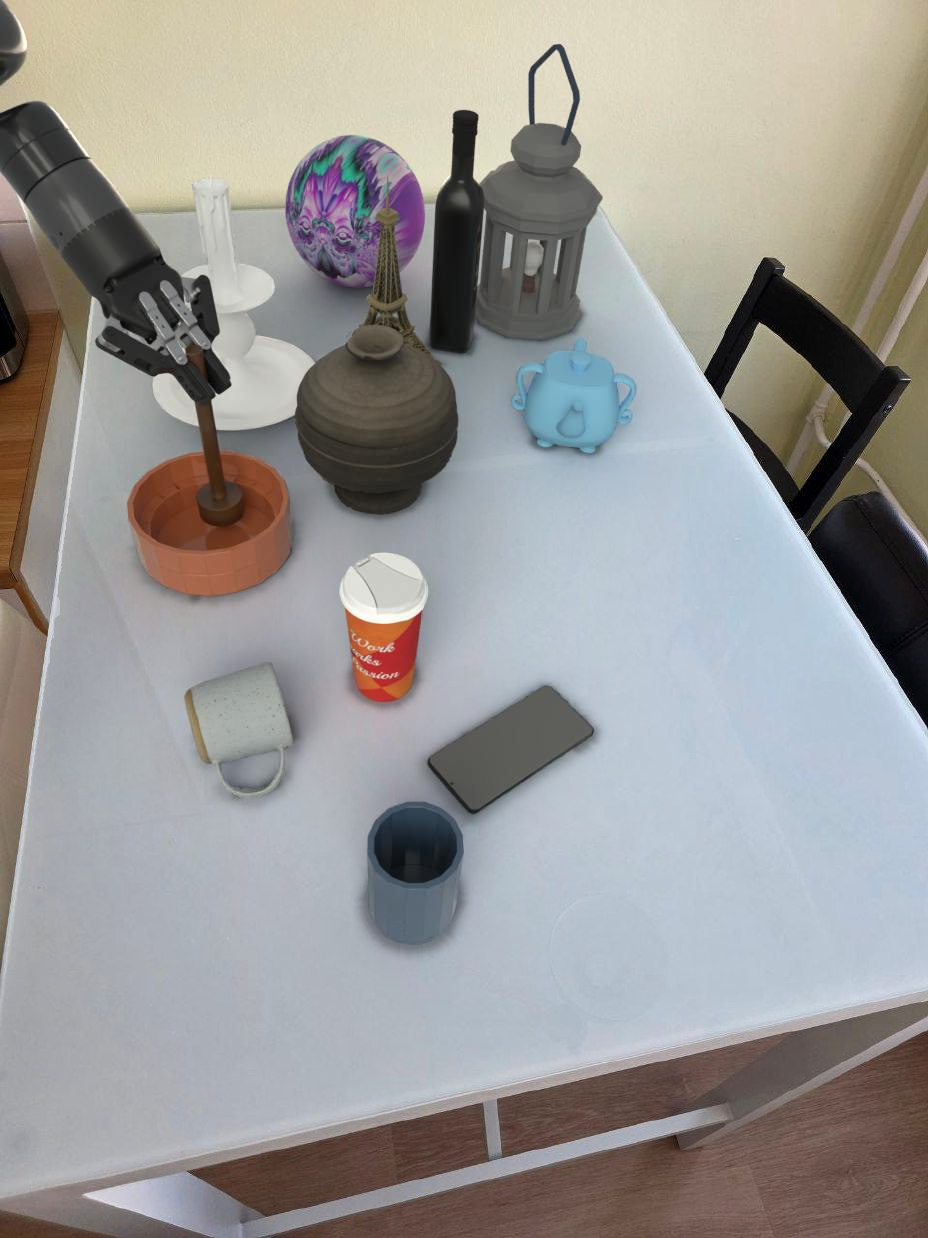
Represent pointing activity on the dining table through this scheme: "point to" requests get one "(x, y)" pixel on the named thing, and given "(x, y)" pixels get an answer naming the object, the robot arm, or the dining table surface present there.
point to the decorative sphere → (352, 208)
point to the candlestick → (236, 331)
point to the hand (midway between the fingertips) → (217, 394)
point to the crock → (414, 871)
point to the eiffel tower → (390, 284)
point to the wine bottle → (457, 243)
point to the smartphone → (509, 748)
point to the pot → (377, 420)
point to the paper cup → (383, 623)
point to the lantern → (536, 227)
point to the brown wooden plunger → (213, 463)
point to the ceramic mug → (239, 721)
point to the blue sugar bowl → (573, 399)
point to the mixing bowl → (202, 552)
